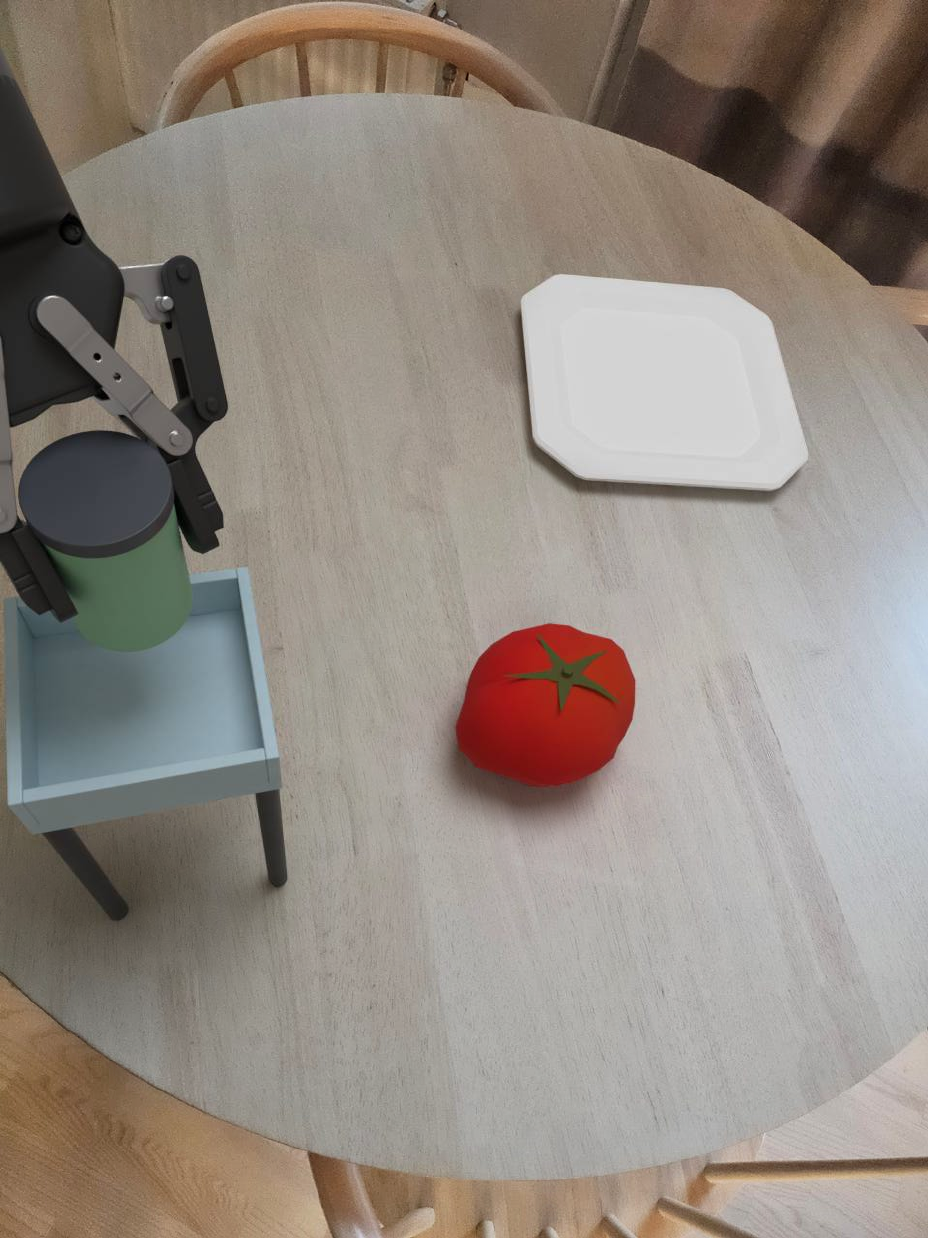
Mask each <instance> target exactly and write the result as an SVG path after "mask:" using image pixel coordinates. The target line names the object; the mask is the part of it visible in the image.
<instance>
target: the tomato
mask: <svg viewBox="0 0 928 1238" xmlns="http://www.w3.org/2000/svg"><path fill="white" fill-rule="evenodd" d="M636 681H637V680H636V678H635V675H634V673H633V671H632V667H631V665H630V663H629V660H628V657H627V655H626V653H625V650H624V649H623V648H622V647H621V646H620V645H618V643H616V642H615V641H614V640H613V639H612V638H609V637H604V636H601V635H596V634H593V633H589V632H585V631H582V630H580V629H578V628H576V627H573V626H571V625H570V624H563V623H561V624H560V623H553V622H549V623H544V624H540V625H535V626H532V627H527V628H522V629H518V630H514V631H511V632H510V633H508V634H507V635H504V636H502V637H501V638H500V639H498V640H496V641H495V642H493V643H492V644H490V645H489V646H488V647H487V649H486V650H484V652H483V653H481V655H480V656H479V657H478V658H477V660H476V662H475V664H474V666H473V667H472V670H471V672H470V674H469V677H468V680H467V682H466V688H465V693H464V698H463V699H464V700H463V703H462V706H461V709H460V712H459V715H458V718H457V721H456V724H455V733H456V740H457V748H458V750H459V751H460V752H461V753H462V754H463V755H464V756H465V757H466V758H467V759H468V761H470V763H471V764H472V765H473V766H474V767H475V768H477V769H480V770H483V771H486V772H488V773H489V772H490V773H491V774H495V775H498V776H501V777H503V778H507V779H510V780H512V781H516V782H518V783H521V784H524V785H527V786H532V787H534V788H539V787H540V788H541V787H542V788H543V787H560V786H564V785H569V784H572V783H575V782H577V781H579V780H582V779H584V778H587V777H589V776H591V775H593V774H596V773H597V772H599V771H600V770H601V769H602V768H603V767H605V766H606V765H607V764H608V763H610V762H611V761H612V760H613V759H614V758H615V755H616V751H617V749H618V747H619V745H620V744H621V742H622V741H623V739H624V738H625V736H626V734H627V732H628V730H629V728H630V726H631V724H632V721H633V719H634V712H635V706H636Z"/></svg>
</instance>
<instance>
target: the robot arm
mask: <svg viewBox="0 0 928 1238" xmlns="http://www.w3.org/2000/svg"><path fill="white" fill-rule="evenodd" d="M202 281H203V280H202V277H201V272H200V268H199V266H198V264H197V263H196V262H195V260H193V259H192V258H191V257H189V256H188V255H184V254H178V255H175V256H172V257H170V258H168V259H166V260H164V261H163V262H156V263H147V264H136V265H127V266H126V265H124V266H118V265H117V263H115V261H114V260H113V259H112V258H111V257H110V256H109V255H107V254H106V253H105V252H103V251H102V250H101V249H100V248H99V247H98V246H97V245H96V243H95V242H94V240H92V238H91V237H90V235H89V234H88V232H87V230H86V228H85V226H84V223H83V221H82V219H81V216H80V214H79V212H78V210H77V208H76V206H75V204H74V202H73V199H72V197H71V194H70V192H69V191H68V188H67V187H66V184H65V182H64V180H63V178H62V176H61V173H60V171H59V169H58V167H57V165H56V163H55V160H54V158H53V156H52V154H51V151H50V149H49V147H48V144H47V143H46V141H45V138H44V136H43V135H42V132H41V130H40V128H39V125H38V124H37V122H36V119H35V118H34V115H33V113H32V111H31V109H30V106H29V105H28V102H27V100H26V99H25V96H24V94H23V92H22V90H21V87H20V85H19V83H18V81H17V78H16V77H15V74H14V72H13V70H12V68H11V66H10V63H9V61H8V58H7V57H6V54H5V53H4V51H3V48H2V46H1V45H0V565H1V566H2V568H3V570H4V572H5V573H6V575H7V577H8V579H9V580H10V582H11V584H12V585H13V587H14V589H15V591H16V593H17V595H18V596H20V598H21V600H22V601H23V602H24V603H25V604H26V605H27V606H28V607H29V608H30V609H32V610H33V611H34V612H36V613H37V614H38V615H41V614H43V613H45V612H48V611H51V613H52V614H53V616H54V617H55V618H56V619H57V620H58V621H59V622H60V623H62V622H64V621H66V620H68V619H70V618H72V617H74V616H76V615H78V612H77V610H76V608H75V606H74V604H73V602H72V600H71V598H70V596H69V595H68V593H67V591H66V589H65V587H64V585H63V584H62V582H61V580H60V578H59V576H58V574H57V573H56V571H55V569H54V567H53V565H52V563H51V562H50V560H49V558H48V556H47V554H46V552H45V551H44V549H43V547H42V545H41V543H40V541H39V540H38V538H37V537H36V536H35V535H34V533H33V532H32V530H31V528H30V527H29V525H28V524H27V522H26V520H24V519H21V518H20V517H19V514H18V507H17V497H16V489H15V488H16V487H15V480H14V471H13V470H14V469H13V464H14V463H13V461H14V460H13V459H14V457H13V455H14V454H13V445H12V436H11V428H15V427H17V426H21V425H23V424H25V423H28V422H30V421H31V422H32V421H33V420H36V419H37V418H38V417H39V416H41V415H42V414H44V413H45V412H46V411H47V410H48V409H50V408H52V406H60V405H66V404H67V405H68V404H73V403H79V402H81V401H84V400H86V399H89V398H92V399H93V400H94V401H95V402H96V403H97V404H98V405H99V406H100V407H101V408H102V409H103V410H104V411H106V412H107V413H108V414H109V415H110V416H112V417H114V419H116V420H118V421H119V422H120V423H121V424H122V425H123V426H124V427H125V428H126V429H127V430H128V431H129V432H130V433H131V435H132V436H134V437H137V438H139V439H141V440H143V441H145V442H146V443H148V444H149V445H151V446H152V447H153V448H154V449H155V450H157V451H158V452H159V453H160V455H161V456H162V457H163V458H164V460H165V462H166V463H167V465H168V468H169V470H170V474H171V478H172V483H173V488H174V506H175V511H176V516H177V520H178V525H179V530H180V532H181V533H182V536H183V538H184V539H185V542H186V543H187V545H188V547H189V548H190V549H191V550H192V551H193V552H195V553H198V554H201V555H204V554H206V553H209V552H211V551H213V550H215V549H217V548H219V547H220V540H219V538H218V536H217V534H216V532H217V531H219V530H223V529H224V528H225V525H224V523H225V522H224V513H223V510H222V508H221V506H220V504H219V501H218V500H217V497H216V495H215V493H214V491H213V489H212V487H211V484H210V482H209V480H208V478H207V475H206V473H205V472H204V469H203V467H202V465H201V463H200V461H199V458H198V456H197V449H196V448H197V442H198V440H199V438H200V437H201V436H202V435H203V433H205V432H206V431H207V430H208V429H209V428H210V427H211V426H212V425H213V424H214V423H216V422H219V421H221V420H223V419H224V418H225V417H226V415H227V413H228V411H229V401H228V399H227V398H228V397H227V394H226V393H227V392H226V389H225V383H224V380H223V373H222V370H221V364H220V361H219V356H218V352H217V351H218V350H217V346H216V342H215V338H214V331H213V328H212V324H211V319H210V314H209V309H208V305H207V300H206V296H205V291H204V286H203V282H202ZM125 298H127V299H130V300H131V301H133V302H134V303H135V304H136V305H137V307H138V308H139V310H140V313H141V315H142V317H143V318H144V320H146V321H147V322H149V323H150V324H152V325H156V326H159V327H160V331H161V335H162V340H163V345H164V348H165V352H166V353H165V354H166V357H167V361H168V366H169V369H170V370H169V371H170V375H171V379H172V384H173V387H174V392H175V397H176V399H177V400H176V401H177V403H175V405H174V406H172V408H171V409H170V408H169V407H168V406H167V405H166V404H164V403H163V401H162V400H161V399H160V398H159V397H157V395H156V394H155V393H154V390H153V388H152V387H151V385H150V384H149V383H148V382H146V380H145V379H144V378H143V377H142V376H141V375H140V374H139V373H138V372H137V371H136V370H135V369H134V368H133V367H132V366H131V365H130V364H129V363H128V362H127V361H126V360H125V359H124V358H123V357H122V356H121V355H120V354H119V353H118V352H117V351H116V350H115V349H116V344H117V340H118V339H117V337H118V334H119V333H118V332H119V327H120V321H121V315H122V310H123V303H124V299H125Z"/></svg>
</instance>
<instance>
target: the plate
mask: <svg viewBox="0 0 928 1238" xmlns="http://www.w3.org/2000/svg"><path fill="white" fill-rule="evenodd" d="M519 304H520V315H521V316H520V317H521V325H522V326H521V327H522V338H523V347H524V359H525V369H526V380H527V391H528V402H529V412H530V423H531V425H530V426H531V434H532V440H533V442H534V443H535V445H536V447H538V448H539V449H541V451H542V452H544V453H546V454H547V455H548V456H549V457H550V458H552V459H553V460H555V461H556V462H557V463H558V464H559V465H561V467H563V468H564V469H565V470H567V471H568V472H570V474H572V475H573V476H574V477H576V478H578V479H581V480H584V481H593V482H611V483H628V484H629V483H630V484H647V485H648V484H649V485H660V486H661V485H663V486H664V485H665V486H677V487H678V486H679V487H681V486H682V487H698V488H713V489H730V490H731V489H732V490H747V491H749V490H750V491H766V492H773V491H775V490H779V489H781V488H782V487H783V486H784V485H785V484H786V483H787V482H789V480H790V479H791V478H792V477H793V476H794V475H795V474H796V473H797V472H798V471H799V470H800V469H801V468H802V467H803V466H804V465H805V464H806V463H807V462H808V459H809V455H810V454H809V449H808V446H807V443H806V439H805V436H804V431H803V428H802V425H801V421H800V417H799V414H798V410H797V406H796V403H795V399H794V397H793V396H794V395H793V392H792V389H791V385H790V381H789V377H788V375H787V370H786V367H785V363H784V360H783V356H782V353H781V349H780V345H779V342H778V337H777V335H776V330H775V327H774V323H773V320H771V319H770V317H769V316H768V315H767V314H766V313H764V312H763V311H762V310H760V309H758V308H757V307H756V306H754V305H753V304H752V303H750V302H749V301H747V300H745V299H744V298H743V297H742V296H739V294H737V293H735V292H734V291H732V290H730V289H729V288H728V289H727V288H724V287H715V286H701V285H692V284H691V285H690V284H682V283H681V284H680V283H679V284H678V283H669V282H658V281H657V282H656V281H645V280H635V279H624V278H611V277H601V276H600V277H599V276H588V275H577V274H566V273H565V274H564V273H559V274H553V275H552V276H550V277H549V278H547V279H545V280H544V281H543V282H541V283H540V284H538V285H537V286H535V287H533V288H532V289H531V290H529V291H527V292H526V293H525V294H524V295H522V297H521V299H520V301H519Z"/></svg>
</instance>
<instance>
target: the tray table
mask: <svg viewBox="0 0 928 1238" xmlns="http://www.w3.org/2000/svg"><path fill="white" fill-rule="evenodd" d="M189 577H190V582H191V587H192V592H193V602H192V608H191V611H190V614H189V616H188V618H187V620H186V621H185V623H184V624H183V626H182V627H181V628H180V629H179V631H177V632H176V633H175V634H174V635H173V636H172V637H171V638H169V639H168V640H166V641H165V642H163V643H161V644H159V645H157V646H155V647H152V648H149V649H146V650H141V651H134V652H119V651H112V650H108V649H105V648H102V647H100V646H97V645H96V644H94V643H92V642H90V641H89V640H88V639H86V638H85V637H84V636H83V635H82V634H81V633H80V631H79V630H78V629H77V627H76V625H75V623H74V621H73V619H72V618H70V619H68V620H66V621H64V622H62V623H60V622H59V621H58V620H57V619H56V618H55V617H54V616H53V614H52V613H51V611H48V612H45V613H43V614H41V615H38V614H37V613H36V612H34V611H33V610H32V609H30V608H29V607H28V606H27V605H26V604H25V603H24V602H23V601H22V600H21V598H20V596H19V595H18V596H11V597H4V598H3V600H2V602H3V603H2V604H3V605H2V607H3V608H2V609H3V648H4V650H3V653H4V654H3V655H4V693H5V694H4V695H5V697H4V701H5V702H4V703H5V704H4V705H5V745H6V747H5V748H6V794H7V806H8V808H10V810H11V811H12V812H13V814H14V815H15V816H16V817H17V818H18V819H19V821H20V822H21V823H22V824H23V826H24V827H25V828H26V830H28V832H29V833H30V834H31V835H39V834H42V836H43V837H44V839H46V840H47V842H48V843H49V845H50V846H51V847H52V848H53V849H54V851H55V852H56V853H57V854H58V855H59V857H60V858H61V860H62V861H63V862H64V863H65V864H66V865H67V867H68V868H69V870H71V872H72V873H73V874H74V875H75V877H76V878H77V880H79V882H80V883H81V884H82V886H83V887H84V888H85V889H86V890H87V891H88V893H89V894H90V895H91V896H92V898H93V899H94V900H95V901H96V903H97V904H98V905H99V906H100V908H101V909H102V910H103V911H104V912H105V914H106V915H107V916H108V918H109V919H110V920H112V921H115V922H117V921H121V920H123V919H124V918H126V916H127V915H128V913H129V907H128V904H127V903H126V901H125V900H124V899H123V897H122V896H121V894H120V893H119V891H118V890H117V888H116V887H115V885H114V884H113V883H112V881H111V880H110V878H109V876H107V874H106V873H105V871H104V870H103V868H101V866H100V864H99V862H97V860H96V859H95V857H94V856H93V854H92V853H91V851H90V850H89V849H88V847H87V846H86V844H85V843H84V842H83V840H82V839H81V837H80V836H79V834H78V833H77V832H76V830H75V829H74V828H75V827H83V826H87V825H93V824H98V823H103V822H108V821H109V822H110V821H115V820H119V819H124V818H130V817H136V816H140V815H147V814H150V813H151V814H152V813H157V812H162V811H168V810H173V809H178V808H185V807H189V806H195V805H199V804H205V803H211V802H217V801H222V800H228V799H232V798H233V799H234V798H238V797H243V796H249V795H254V796H255V802H256V809H257V815H258V821H259V828H260V835H261V840H262V847H263V853H264V859H265V866H266V872H267V877H268V878H267V879H268V882H269V884H270V885H271V886H272V887H276V888H279V887H282V886H284V885H285V884H286V883H287V881H288V878H289V877H288V867H287V857H286V845H285V835H284V833H285V832H284V824H283V823H284V822H283V812H282V803H281V791H280V790H281V789H283V779H282V767H281V757H280V749H279V744H278V738H277V731H276V727H275V726H276V725H275V719H274V714H273V708H272V707H273V706H272V701H271V694H270V689H269V683H268V679H267V671H266V666H265V658H264V653H263V647H262V641H261V636H260V629H259V623H258V617H257V610H256V605H255V599H254V592H253V587H252V586H253V585H252V581H251V575H250V569H249V567H248V566H242V567H236V568H234V567H233V568H227V569H226V568H225V569H219V570H213V571H212V570H211V571H204V572H203V571H202V572H195V573H189Z"/></svg>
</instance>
